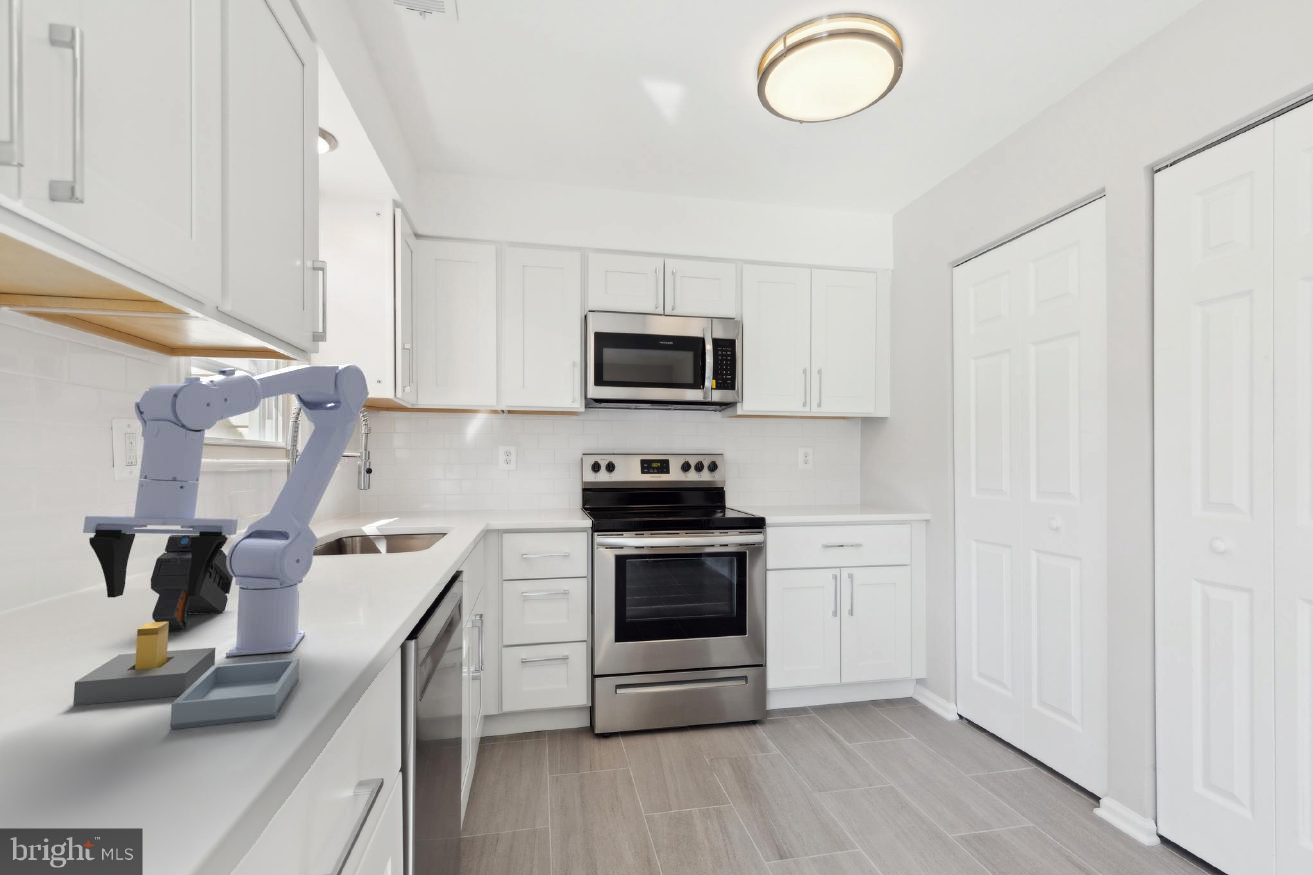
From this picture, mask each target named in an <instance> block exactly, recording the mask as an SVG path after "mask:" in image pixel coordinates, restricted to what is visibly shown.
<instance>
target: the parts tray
mask: <svg viewBox="0 0 1313 875" xmlns="http://www.w3.org/2000/svg"><path fill="white" fill-rule="evenodd" d="M299 678H300V658H295V659H294V658H293V659H281V660H267V661H257V662H256V661H255V662H254V661H253V662H246V663H245V662H243V663H233V664H232V663H231V664H230V663H229V664H217V665H215V666H212V667H211V668H210V669H209V670H208V671H207V672H205V673H204V674H203V675H202V676H201V677H200V678H199V679H198V680H197V681H196V682H195V683H194V684H193V685H191V686H190V687H189V688H188V689H187V690H186V691H185V692H184V693H183V694H182V695H181V696H177V697H176V699H175V700H174V701H173V702H172V703H171V706H170V707H171V708H170V709H171V711H170V724H169V725H170V727H169V729H170V730H176V729H188V728H189V729H190V728H197V727H198V728H199V727H206V726H215V725H223V724H233V723H243V722H250V721H251V722H252V721H260V720H271V719H276V717H277V715H278V713H279V711H281V709H282V707H283V705H284V704H285V702H286V700H287V699H288V697H289V696H290V694H291V692H292V691H293V689H294V688H295V685H297V682H298V681H299V680H300V679H299Z"/></svg>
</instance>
